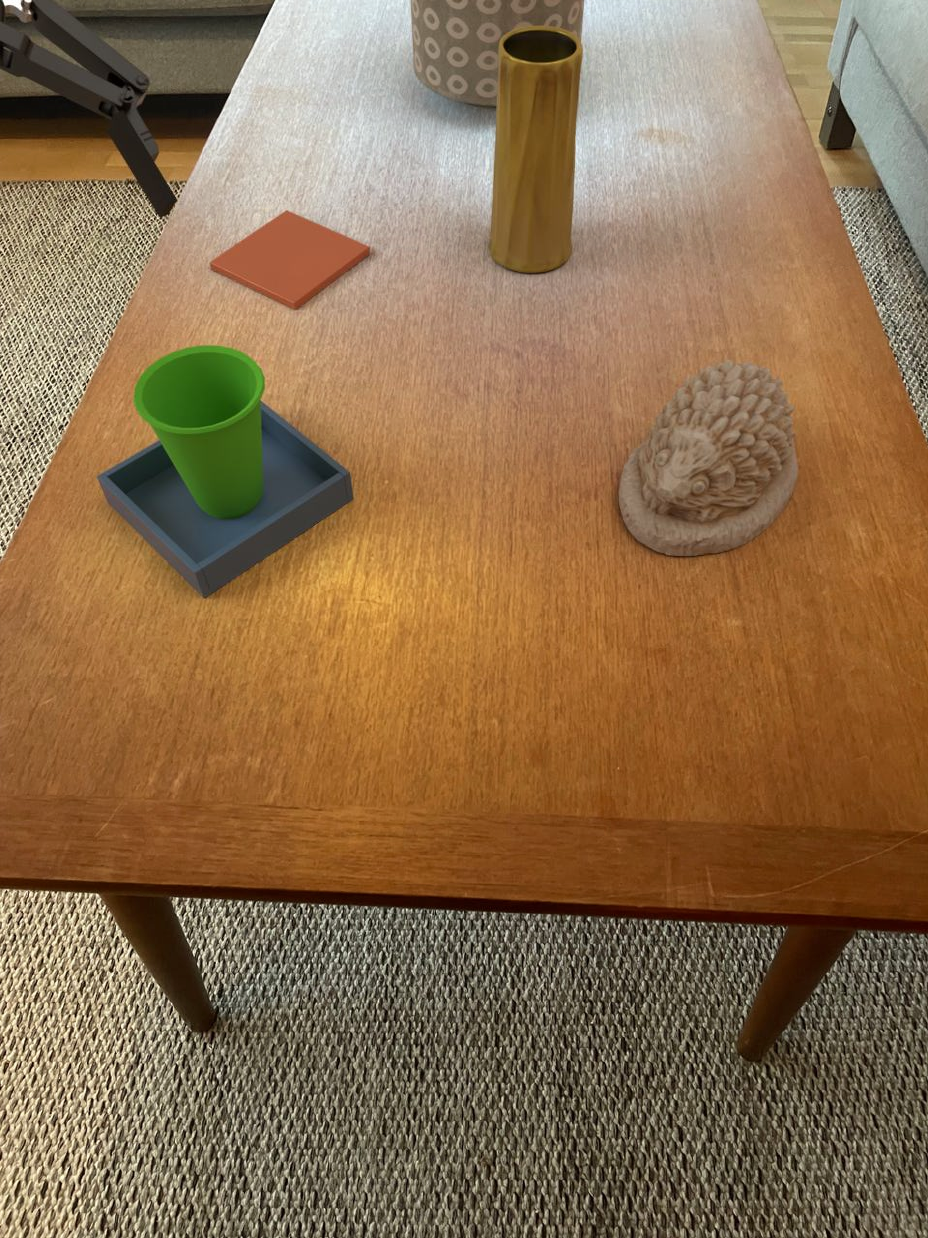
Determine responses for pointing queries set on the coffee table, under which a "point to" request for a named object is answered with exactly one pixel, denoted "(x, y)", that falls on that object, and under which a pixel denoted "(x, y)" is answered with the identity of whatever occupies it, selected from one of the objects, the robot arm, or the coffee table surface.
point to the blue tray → (225, 548)
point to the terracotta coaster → (290, 259)
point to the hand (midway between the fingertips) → (84, 248)
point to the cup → (209, 423)
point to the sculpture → (712, 464)
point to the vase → (535, 148)
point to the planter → (476, 41)
